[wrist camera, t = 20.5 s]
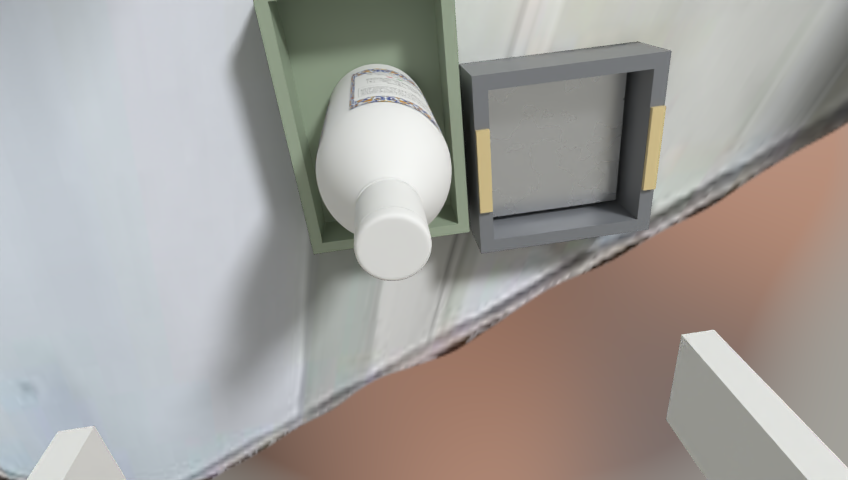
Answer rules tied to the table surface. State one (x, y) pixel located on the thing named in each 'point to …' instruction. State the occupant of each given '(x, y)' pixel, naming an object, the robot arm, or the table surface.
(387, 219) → the bath foam
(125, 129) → the table surface
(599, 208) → the gray square tray
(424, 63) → the green tray
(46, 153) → the table surface
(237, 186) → the table surface
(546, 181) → the plate
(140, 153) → the table surface
